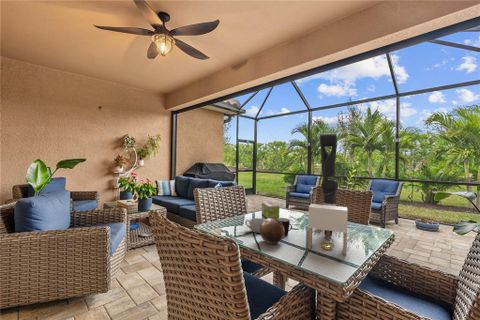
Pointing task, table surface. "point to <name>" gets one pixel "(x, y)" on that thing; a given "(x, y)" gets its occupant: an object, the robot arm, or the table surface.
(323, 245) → the brass puck
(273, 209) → the tea box
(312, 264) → the table surface
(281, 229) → the wooden sphere
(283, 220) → the coffee mug
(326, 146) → the robot arm
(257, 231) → the teacup
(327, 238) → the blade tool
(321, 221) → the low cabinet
